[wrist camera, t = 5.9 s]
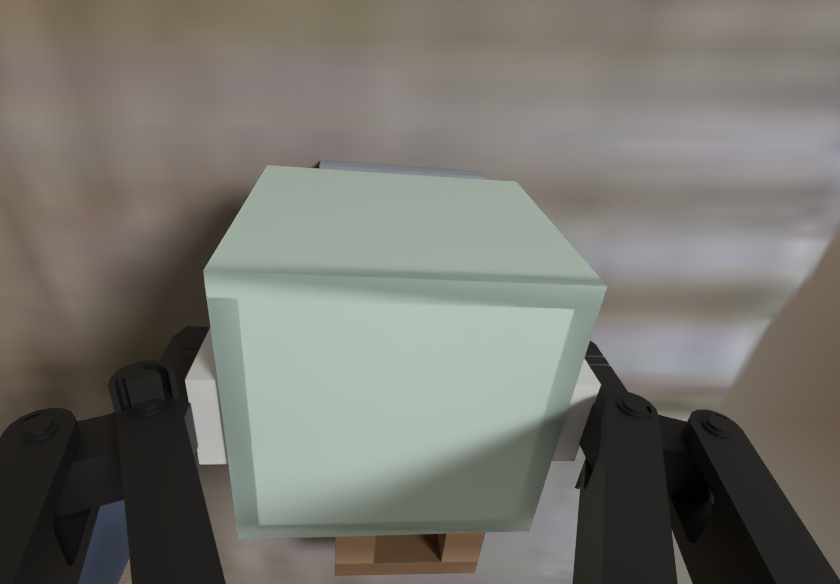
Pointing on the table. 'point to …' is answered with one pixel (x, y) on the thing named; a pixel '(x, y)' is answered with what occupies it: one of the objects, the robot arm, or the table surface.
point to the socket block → (407, 554)
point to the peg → (107, 547)
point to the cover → (393, 352)
